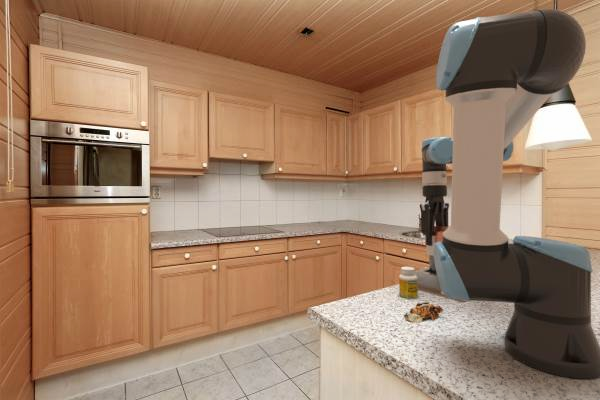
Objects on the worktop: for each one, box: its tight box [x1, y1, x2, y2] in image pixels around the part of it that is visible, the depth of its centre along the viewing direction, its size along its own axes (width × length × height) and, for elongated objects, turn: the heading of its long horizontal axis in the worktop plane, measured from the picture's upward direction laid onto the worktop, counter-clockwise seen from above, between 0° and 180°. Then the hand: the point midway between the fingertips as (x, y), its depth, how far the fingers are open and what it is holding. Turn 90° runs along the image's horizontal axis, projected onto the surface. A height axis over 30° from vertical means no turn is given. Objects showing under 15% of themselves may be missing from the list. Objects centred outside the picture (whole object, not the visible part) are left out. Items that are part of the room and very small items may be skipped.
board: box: [418, 287, 467, 303], centre depth 100 cm, size 16×19×1 cm
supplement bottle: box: [398, 266, 419, 300], centre depth 94 cm, size 5×5×10 cm
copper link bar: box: [419, 225, 450, 274], centre depth 102 cm, size 11×5×18 cm, turn 35°
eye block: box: [414, 266, 442, 293], centre depth 103 cm, size 10×10×5 cm
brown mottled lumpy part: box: [403, 300, 444, 324], centre depth 81 cm, size 7×12×4 cm, turn 129°
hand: (435, 254), depth 102 cm, fingers closed on copper link bar, 5 cm apart
